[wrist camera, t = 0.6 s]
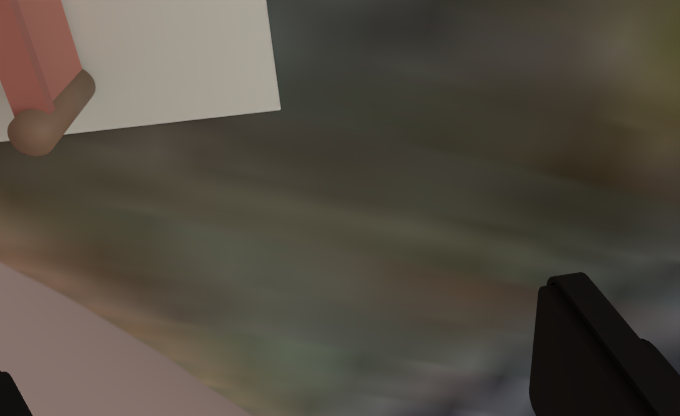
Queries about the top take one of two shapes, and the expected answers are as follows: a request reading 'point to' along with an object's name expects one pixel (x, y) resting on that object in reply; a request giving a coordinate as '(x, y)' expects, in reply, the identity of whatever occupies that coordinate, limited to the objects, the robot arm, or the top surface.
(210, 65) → the card
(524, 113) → the top surface
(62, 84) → the fence panel
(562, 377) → the robot arm
